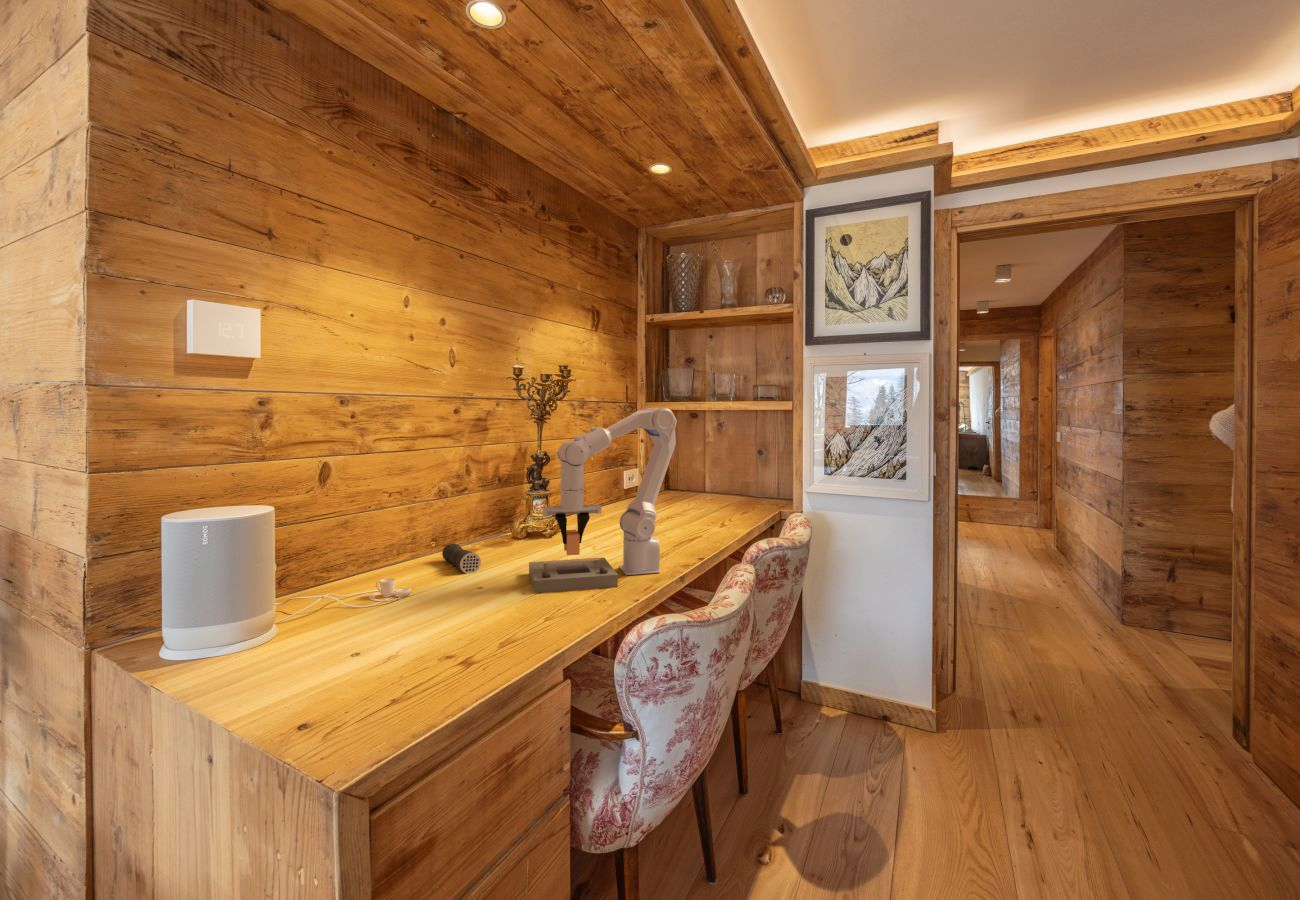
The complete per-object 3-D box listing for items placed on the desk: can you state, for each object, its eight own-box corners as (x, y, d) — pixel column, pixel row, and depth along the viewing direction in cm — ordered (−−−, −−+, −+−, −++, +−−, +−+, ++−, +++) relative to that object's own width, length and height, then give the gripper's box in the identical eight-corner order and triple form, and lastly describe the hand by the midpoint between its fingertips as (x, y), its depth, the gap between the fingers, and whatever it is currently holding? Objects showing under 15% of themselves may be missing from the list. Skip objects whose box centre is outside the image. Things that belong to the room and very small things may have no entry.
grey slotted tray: (604, 568, 154) (604, 550, 153) (617, 586, 138) (617, 566, 138) (529, 573, 148) (529, 554, 148) (534, 593, 133) (534, 572, 132)
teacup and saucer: (417, 595, 131) (417, 578, 131) (388, 606, 124) (388, 588, 124) (390, 589, 135) (390, 572, 135) (360, 599, 128) (360, 582, 128)
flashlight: (440, 562, 158) (440, 543, 158) (459, 559, 161) (459, 540, 161) (460, 575, 146) (460, 554, 146) (481, 571, 150) (480, 551, 149)
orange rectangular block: (575, 548, 146) (575, 529, 146) (579, 554, 141) (579, 534, 140) (564, 549, 146) (564, 530, 145) (567, 555, 140) (567, 535, 139)
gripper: (597, 486, 147) (597, 537, 148) (541, 487, 143) (541, 540, 144) (603, 490, 141) (602, 544, 142) (544, 491, 137) (544, 547, 138)
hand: (571, 542), depth 143 cm, fingers closed on orange rectangular block, 3 cm apart
